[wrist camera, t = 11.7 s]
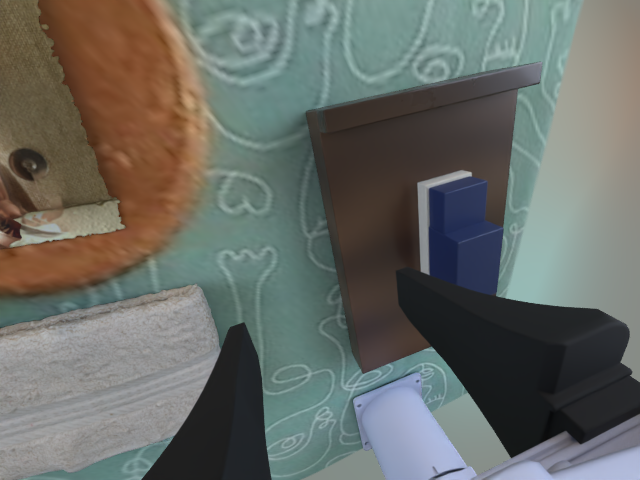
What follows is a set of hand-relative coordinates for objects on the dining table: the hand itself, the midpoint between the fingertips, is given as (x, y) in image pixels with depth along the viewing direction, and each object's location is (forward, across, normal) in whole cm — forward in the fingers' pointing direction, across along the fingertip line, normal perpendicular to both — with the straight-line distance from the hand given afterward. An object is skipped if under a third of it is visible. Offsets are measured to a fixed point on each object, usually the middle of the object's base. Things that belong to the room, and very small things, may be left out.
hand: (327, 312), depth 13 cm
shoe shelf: (+9, -10, +3) cm, 14 cm away
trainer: (+7, -11, +2) cm, 13 cm away
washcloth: (+10, +16, +6) cm, 20 cm away
